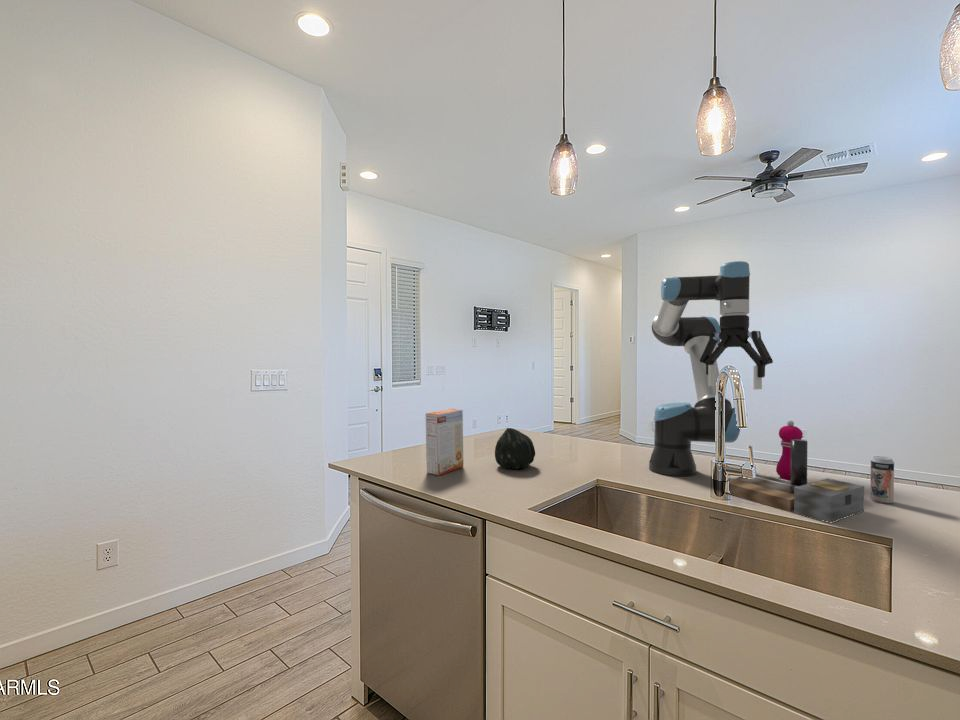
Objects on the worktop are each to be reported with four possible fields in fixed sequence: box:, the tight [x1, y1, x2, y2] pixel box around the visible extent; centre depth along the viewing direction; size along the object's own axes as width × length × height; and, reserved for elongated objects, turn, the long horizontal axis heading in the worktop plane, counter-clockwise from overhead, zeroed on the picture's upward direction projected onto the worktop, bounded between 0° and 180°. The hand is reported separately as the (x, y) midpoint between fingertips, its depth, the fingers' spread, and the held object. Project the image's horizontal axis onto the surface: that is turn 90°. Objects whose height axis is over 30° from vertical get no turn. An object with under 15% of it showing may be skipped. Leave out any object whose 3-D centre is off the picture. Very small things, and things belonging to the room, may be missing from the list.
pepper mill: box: [775, 420, 804, 481], centre depth 135 cm, size 7×7×20 cm
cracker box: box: [425, 408, 464, 476], centre depth 154 cm, size 14×6×21 cm, turn 144°
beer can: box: [869, 455, 895, 505], centre depth 120 cm, size 5×5×12 cm
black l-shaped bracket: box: [784, 439, 808, 492], centre depth 116 cm, size 12×4×14 cm, turn 28°
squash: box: [494, 427, 536, 470], centre depth 158 cm, size 14×15×15 cm
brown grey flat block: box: [728, 472, 865, 522], centre depth 121 cm, size 27×17×7 cm, turn 28°
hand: (733, 387), depth 129 cm, fingers open, 13 cm apart
